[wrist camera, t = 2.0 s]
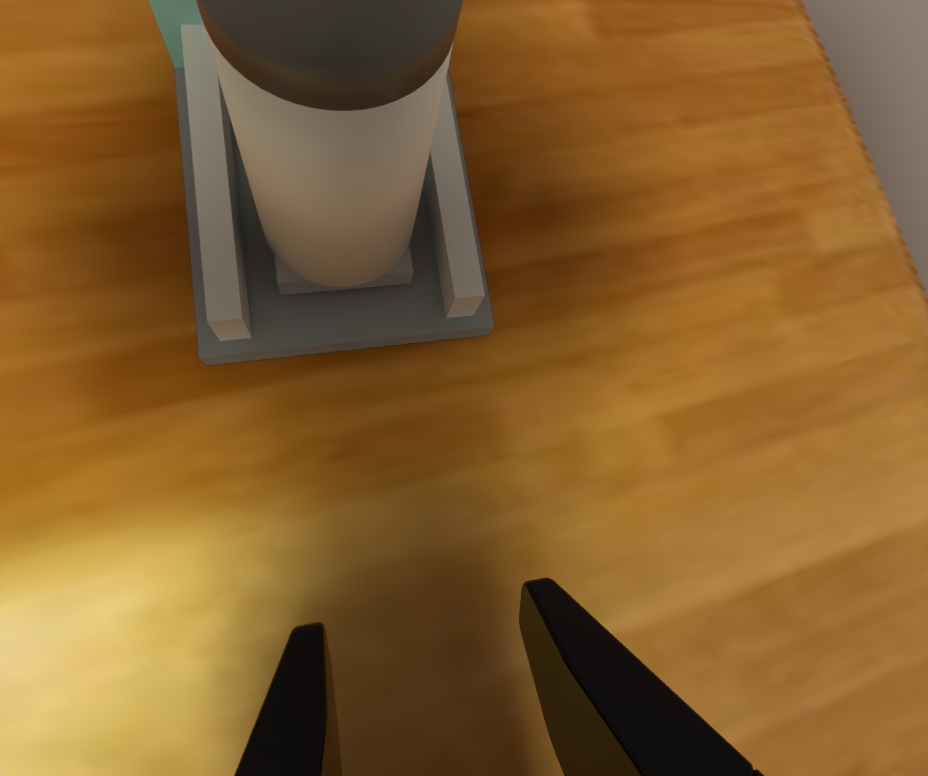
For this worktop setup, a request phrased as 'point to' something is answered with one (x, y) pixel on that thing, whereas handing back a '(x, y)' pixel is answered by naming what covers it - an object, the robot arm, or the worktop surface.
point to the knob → (334, 127)
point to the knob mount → (253, 263)
